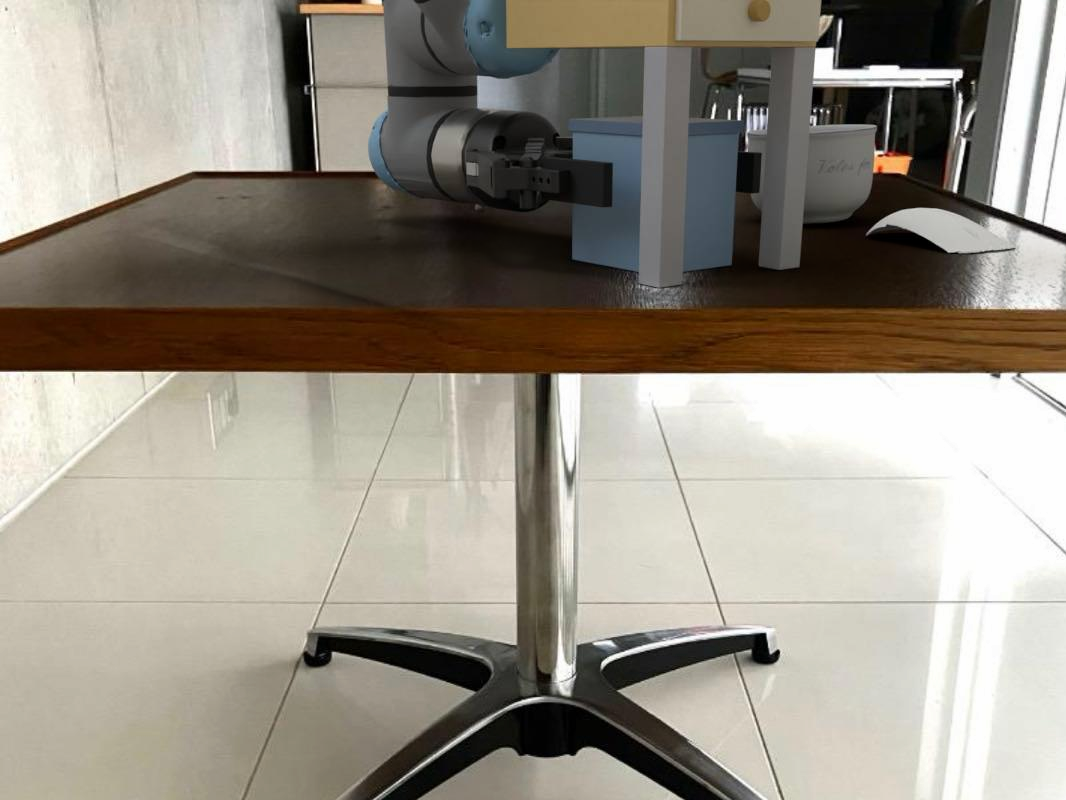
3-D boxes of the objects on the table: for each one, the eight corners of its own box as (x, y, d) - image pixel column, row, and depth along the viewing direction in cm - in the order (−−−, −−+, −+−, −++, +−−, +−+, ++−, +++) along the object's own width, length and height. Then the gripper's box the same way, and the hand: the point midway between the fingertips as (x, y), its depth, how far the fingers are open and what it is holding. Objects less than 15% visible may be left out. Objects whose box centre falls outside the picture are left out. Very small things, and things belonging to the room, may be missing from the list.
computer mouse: (957, 254, 88) (961, 221, 87) (850, 235, 98) (853, 205, 98) (1026, 248, 91) (1031, 216, 90) (915, 230, 101) (918, 201, 100)
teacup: (831, 232, 100) (839, 129, 97) (718, 222, 106) (723, 125, 103) (905, 216, 110) (915, 123, 107) (798, 208, 116) (805, 119, 113)
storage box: (567, 259, 87) (568, 119, 84) (645, 249, 91) (648, 115, 88) (656, 276, 80) (661, 124, 77) (736, 265, 84) (743, 120, 81)
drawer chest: (508, 257, 88) (504, -83, 80) (643, 241, 95) (652, -72, 87) (674, 291, 75) (689, -111, 67) (815, 270, 82) (844, -95, 74)
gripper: (618, 198, 105) (807, 222, 90) (365, 220, 91) (537, 253, 76) (620, 105, 103) (815, 113, 87) (359, 114, 89) (536, 125, 73)
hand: (686, 178), depth 81 cm, fingers open, 13 cm apart
